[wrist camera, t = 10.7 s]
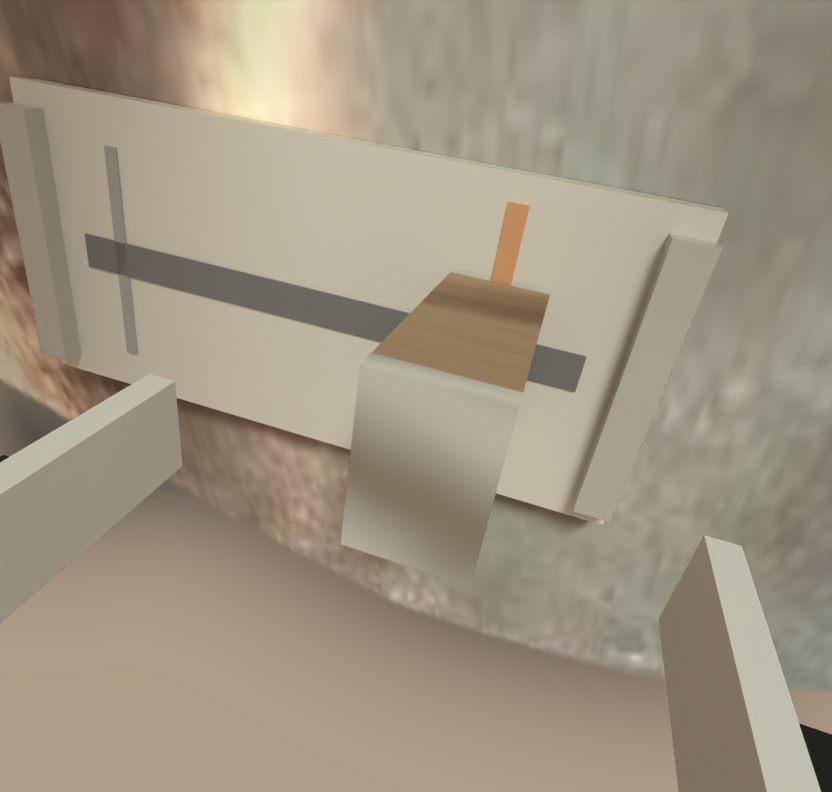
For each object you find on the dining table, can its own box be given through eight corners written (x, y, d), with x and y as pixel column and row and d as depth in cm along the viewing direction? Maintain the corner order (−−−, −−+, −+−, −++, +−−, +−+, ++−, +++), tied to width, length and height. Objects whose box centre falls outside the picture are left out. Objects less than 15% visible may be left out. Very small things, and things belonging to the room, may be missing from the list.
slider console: (38, 79, 26) (-13, 75, 23) (720, 207, 20) (735, 217, 18) (81, 353, 32) (44, 369, 30) (602, 505, 27) (602, 539, 25)
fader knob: (450, 271, 22) (360, 364, 14) (549, 294, 21) (519, 406, 13) (427, 401, 25) (340, 544, 17) (514, 425, 24) (470, 587, 16)
